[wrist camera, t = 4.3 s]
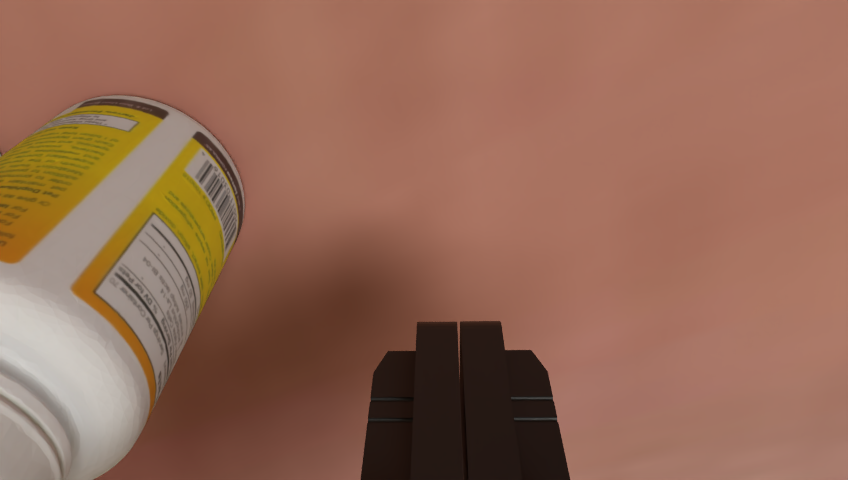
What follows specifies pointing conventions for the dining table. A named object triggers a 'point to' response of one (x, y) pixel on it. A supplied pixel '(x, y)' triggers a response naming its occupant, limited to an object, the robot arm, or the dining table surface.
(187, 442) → the dining table surface
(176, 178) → the supplement bottle
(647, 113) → the dining table surface
